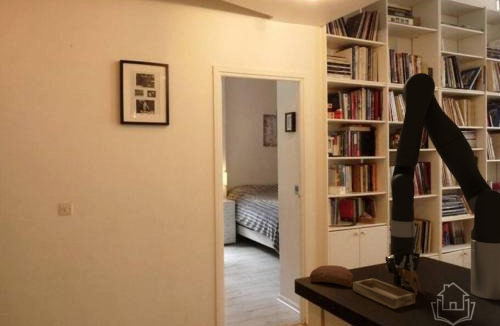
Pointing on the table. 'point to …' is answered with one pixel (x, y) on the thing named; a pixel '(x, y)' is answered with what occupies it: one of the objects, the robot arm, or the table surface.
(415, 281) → the lion figurine
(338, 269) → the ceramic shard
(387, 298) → the rectangular tray
